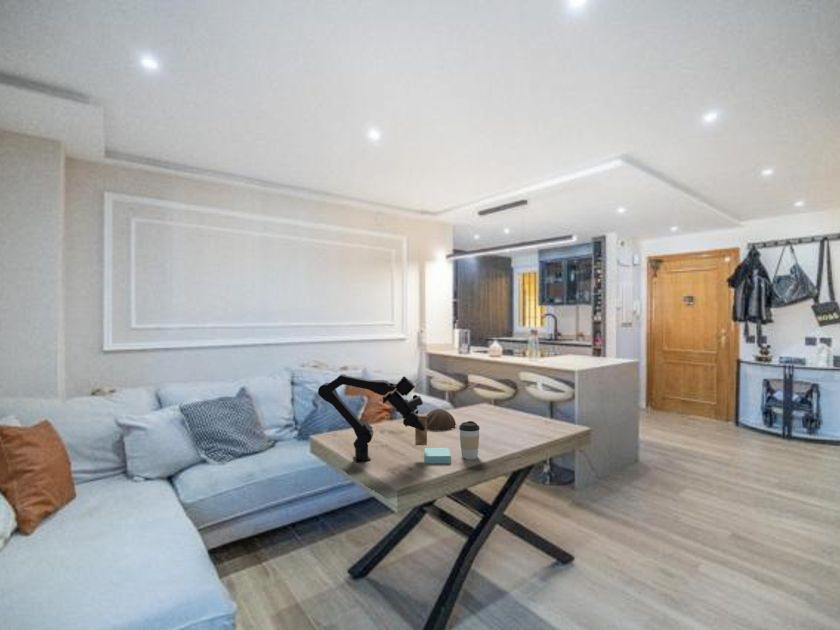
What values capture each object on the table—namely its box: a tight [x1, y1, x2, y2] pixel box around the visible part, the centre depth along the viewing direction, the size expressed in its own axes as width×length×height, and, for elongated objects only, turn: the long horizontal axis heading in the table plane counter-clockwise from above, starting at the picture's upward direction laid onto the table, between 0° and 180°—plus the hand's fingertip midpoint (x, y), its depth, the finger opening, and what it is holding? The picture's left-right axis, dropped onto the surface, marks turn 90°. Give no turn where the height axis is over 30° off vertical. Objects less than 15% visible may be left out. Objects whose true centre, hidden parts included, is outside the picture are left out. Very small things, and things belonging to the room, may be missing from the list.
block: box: [414, 413, 428, 446], centre depth 182 cm, size 5×5×12 cm
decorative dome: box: [426, 408, 457, 432], centre depth 236 cm, size 19×20×10 cm
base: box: [424, 447, 452, 464], centre depth 182 cm, size 11×11×3 cm
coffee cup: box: [459, 420, 480, 460], centre depth 184 cm, size 9×9×15 cm
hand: (424, 428), depth 182 cm, fingers closed on block, 5 cm apart
